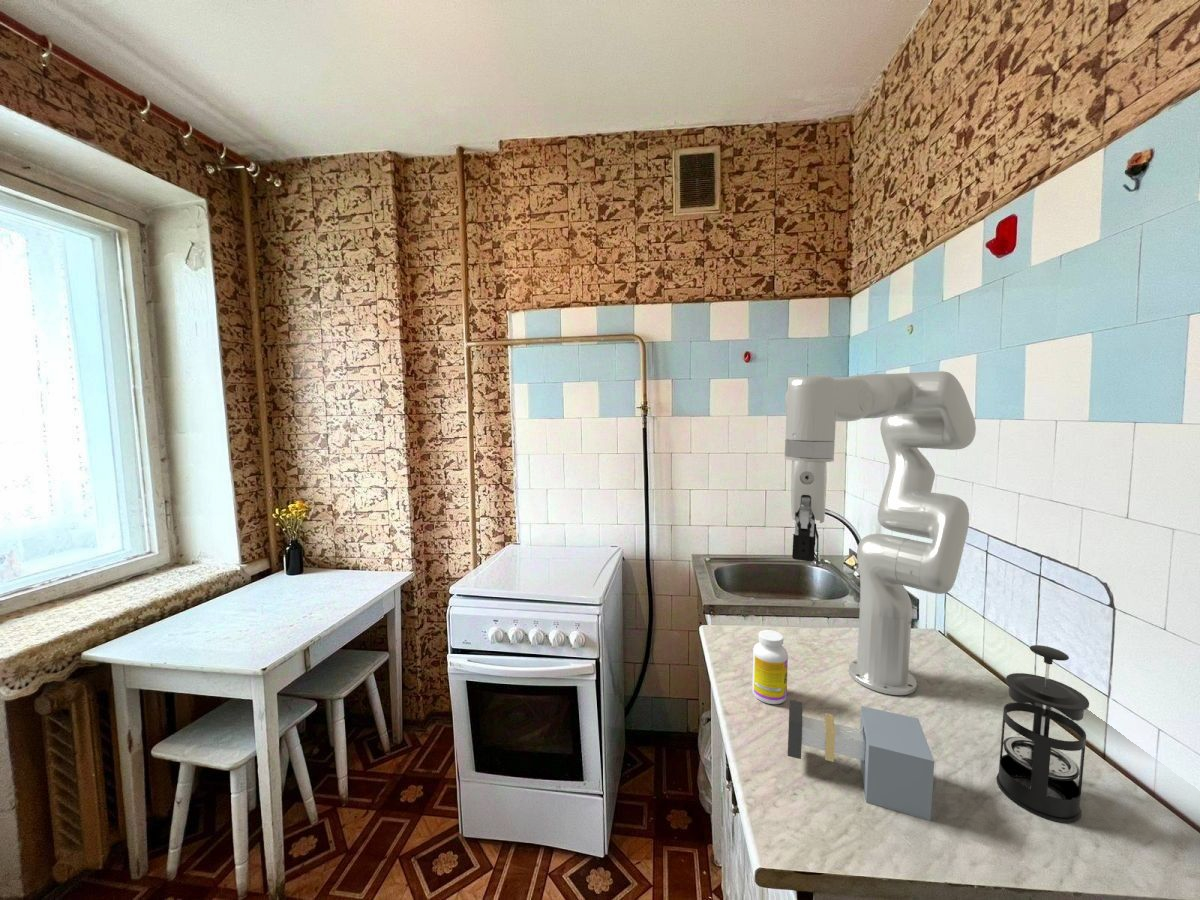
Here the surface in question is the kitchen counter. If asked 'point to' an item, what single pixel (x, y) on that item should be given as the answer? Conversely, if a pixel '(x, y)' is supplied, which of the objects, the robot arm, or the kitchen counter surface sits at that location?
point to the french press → (1043, 744)
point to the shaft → (823, 735)
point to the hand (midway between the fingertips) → (804, 552)
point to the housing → (896, 763)
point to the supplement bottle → (770, 668)
